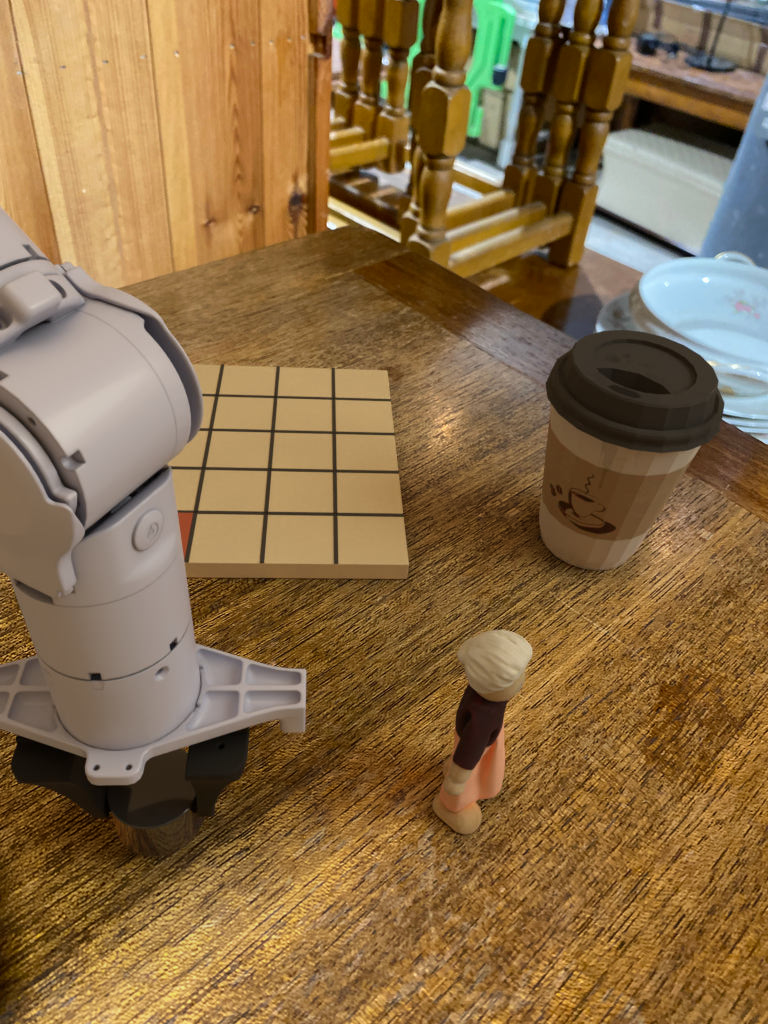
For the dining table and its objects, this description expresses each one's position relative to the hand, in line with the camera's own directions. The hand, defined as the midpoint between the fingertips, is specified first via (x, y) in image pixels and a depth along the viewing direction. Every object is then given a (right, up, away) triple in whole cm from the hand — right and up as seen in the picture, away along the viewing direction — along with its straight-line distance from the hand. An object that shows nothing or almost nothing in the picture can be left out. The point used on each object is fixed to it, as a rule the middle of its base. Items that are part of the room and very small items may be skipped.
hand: (156, 798), depth 38 cm
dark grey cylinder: (0, -1, +1) cm, 2 cm away
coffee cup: (+27, +12, +21) cm, 36 cm away
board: (+2, +18, +24) cm, 30 cm away
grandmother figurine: (+16, -1, +5) cm, 16 cm away
